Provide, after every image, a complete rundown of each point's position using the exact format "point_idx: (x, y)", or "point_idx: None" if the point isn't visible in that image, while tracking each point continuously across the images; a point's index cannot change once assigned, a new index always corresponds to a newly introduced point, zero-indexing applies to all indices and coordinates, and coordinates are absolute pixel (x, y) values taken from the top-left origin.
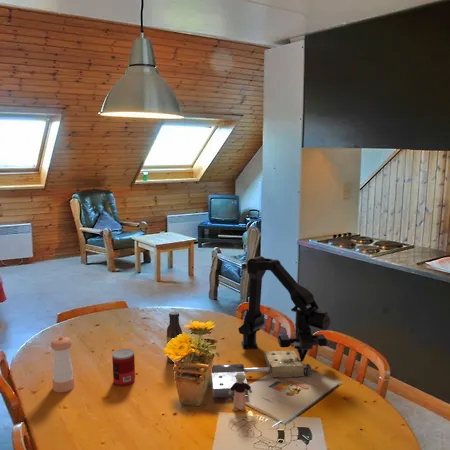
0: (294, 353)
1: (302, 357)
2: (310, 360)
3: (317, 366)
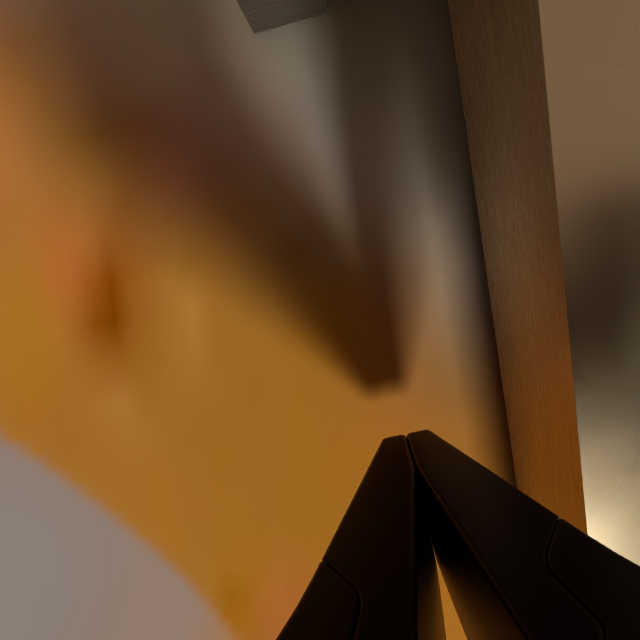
0: None
1: (416, 480)
2: (239, 554)
3: (95, 353)
